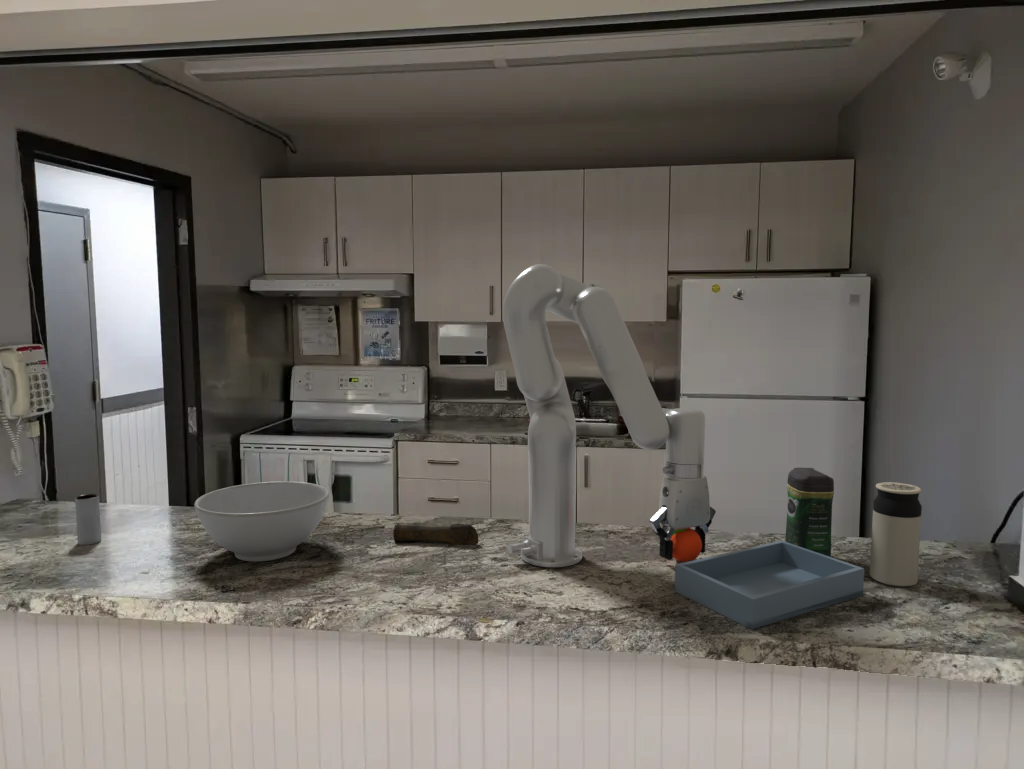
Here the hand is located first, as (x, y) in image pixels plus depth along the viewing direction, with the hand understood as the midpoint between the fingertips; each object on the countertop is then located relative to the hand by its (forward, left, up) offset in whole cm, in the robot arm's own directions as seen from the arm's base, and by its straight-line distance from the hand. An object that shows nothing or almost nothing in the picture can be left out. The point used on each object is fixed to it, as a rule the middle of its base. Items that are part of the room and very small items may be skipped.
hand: (682, 553), depth 143 cm
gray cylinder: (-106, +74, -2) cm, 129 cm away
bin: (+2, -20, -2) cm, 20 cm away
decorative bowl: (-73, +48, -2) cm, 87 cm away
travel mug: (+28, -27, -2) cm, 39 cm away
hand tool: (-39, +36, -2) cm, 53 cm away
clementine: (0, 0, -2) cm, 2 cm away
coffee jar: (+24, -11, -2) cm, 26 cm away
